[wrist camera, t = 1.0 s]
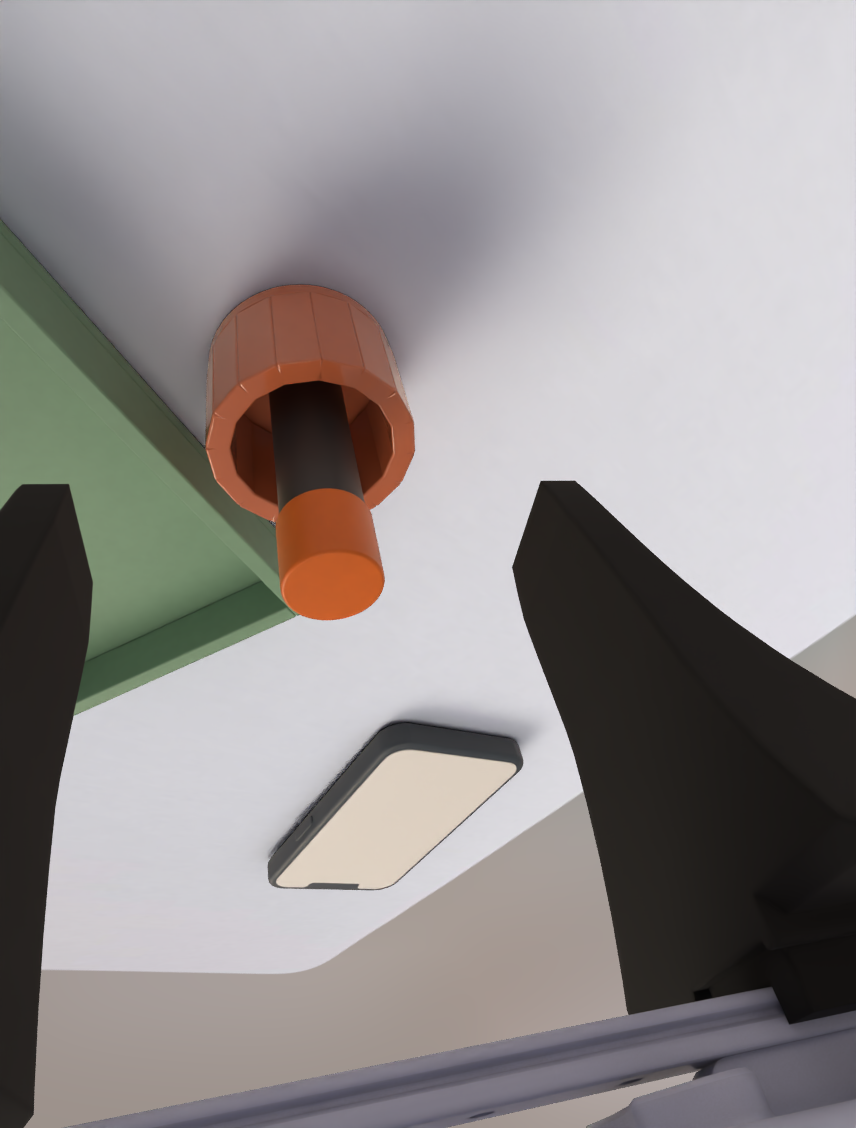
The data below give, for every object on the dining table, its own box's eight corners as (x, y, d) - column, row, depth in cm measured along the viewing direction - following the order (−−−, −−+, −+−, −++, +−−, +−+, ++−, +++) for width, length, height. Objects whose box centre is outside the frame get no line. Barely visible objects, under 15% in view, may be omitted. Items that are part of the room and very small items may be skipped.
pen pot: (273, 468, 24) (280, 552, 21) (168, 339, 20) (160, 423, 17) (419, 397, 23) (445, 475, 20) (338, 248, 19) (357, 321, 16)
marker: (290, 424, 22) (314, 634, 17) (248, 367, 20) (259, 579, 15) (356, 391, 22) (401, 595, 16) (318, 331, 20) (355, 535, 15)
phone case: (385, 712, 36) (258, 862, 44) (391, 741, 35) (259, 889, 43) (527, 734, 40) (386, 868, 49) (536, 761, 39) (390, 892, 48)
